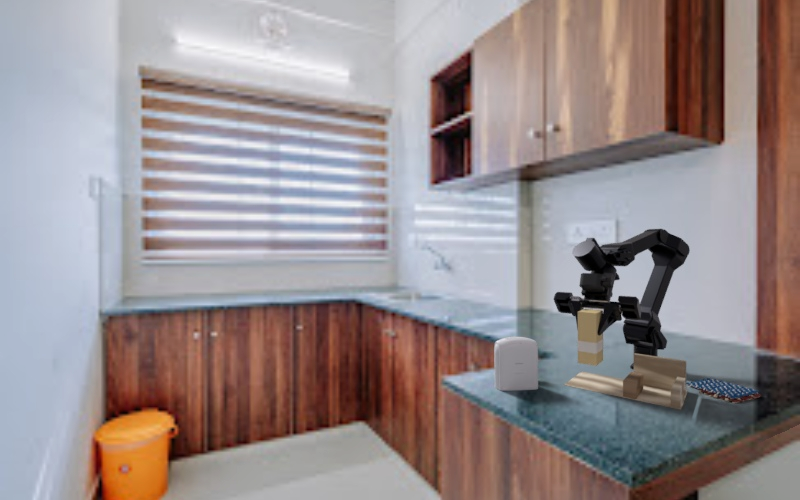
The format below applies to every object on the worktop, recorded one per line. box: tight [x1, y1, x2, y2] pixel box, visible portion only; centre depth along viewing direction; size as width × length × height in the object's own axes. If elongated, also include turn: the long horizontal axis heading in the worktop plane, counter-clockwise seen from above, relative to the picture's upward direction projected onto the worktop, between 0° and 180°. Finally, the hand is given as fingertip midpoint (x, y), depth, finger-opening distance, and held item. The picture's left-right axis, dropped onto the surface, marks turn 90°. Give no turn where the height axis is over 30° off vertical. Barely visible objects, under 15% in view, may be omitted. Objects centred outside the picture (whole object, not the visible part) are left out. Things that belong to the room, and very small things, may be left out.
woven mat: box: [686, 378, 762, 404], centre depth 92 cm, size 10×11×2 cm
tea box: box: [576, 308, 604, 367], centre depth 95 cm, size 6×4×12 cm
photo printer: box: [493, 336, 539, 392], centre depth 94 cm, size 10×4×12 cm, turn 96°
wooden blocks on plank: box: [563, 353, 688, 411], centre depth 93 cm, size 14×23×8 cm, turn 50°
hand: (588, 333), depth 93 cm, fingers closed on tea box, 4 cm apart
